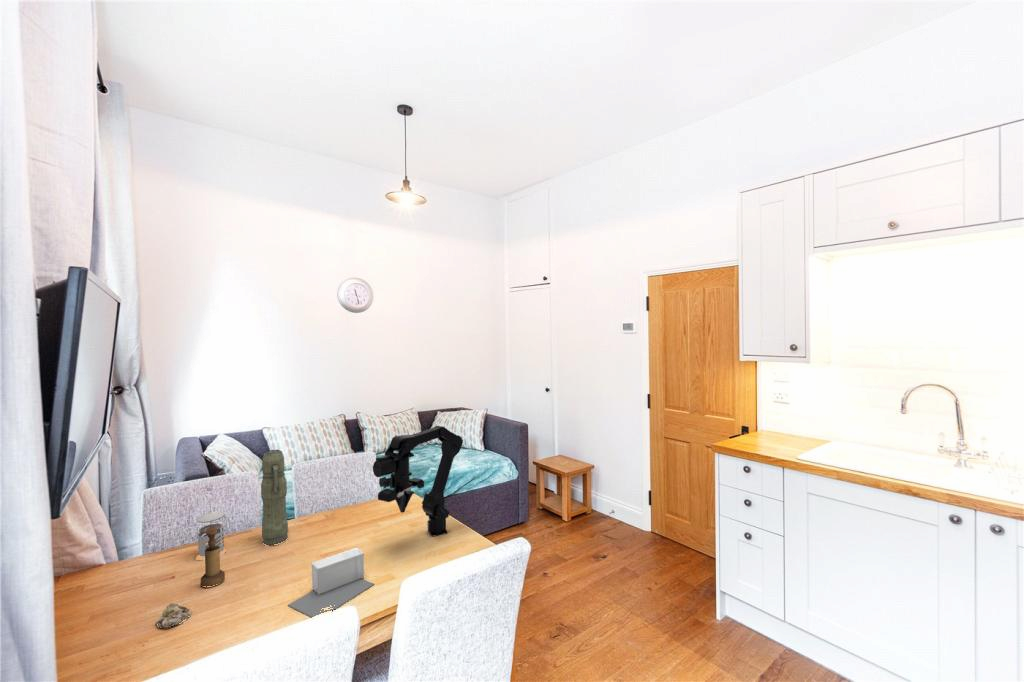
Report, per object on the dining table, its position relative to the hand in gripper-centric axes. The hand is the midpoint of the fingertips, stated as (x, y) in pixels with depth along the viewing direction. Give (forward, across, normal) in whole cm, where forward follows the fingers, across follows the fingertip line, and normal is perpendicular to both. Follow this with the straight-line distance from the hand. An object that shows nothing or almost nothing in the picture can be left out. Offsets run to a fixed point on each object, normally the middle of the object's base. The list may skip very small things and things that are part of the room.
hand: (402, 512), depth 163 cm
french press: (+13, +37, -59) cm, 71 cm away
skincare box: (+9, +21, +2) cm, 23 cm away
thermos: (+13, +20, -48) cm, 54 cm away
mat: (+13, +33, +3) cm, 36 cm away
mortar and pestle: (+13, +47, -38) cm, 62 cm away
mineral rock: (+14, +62, -27) cm, 69 cm away
